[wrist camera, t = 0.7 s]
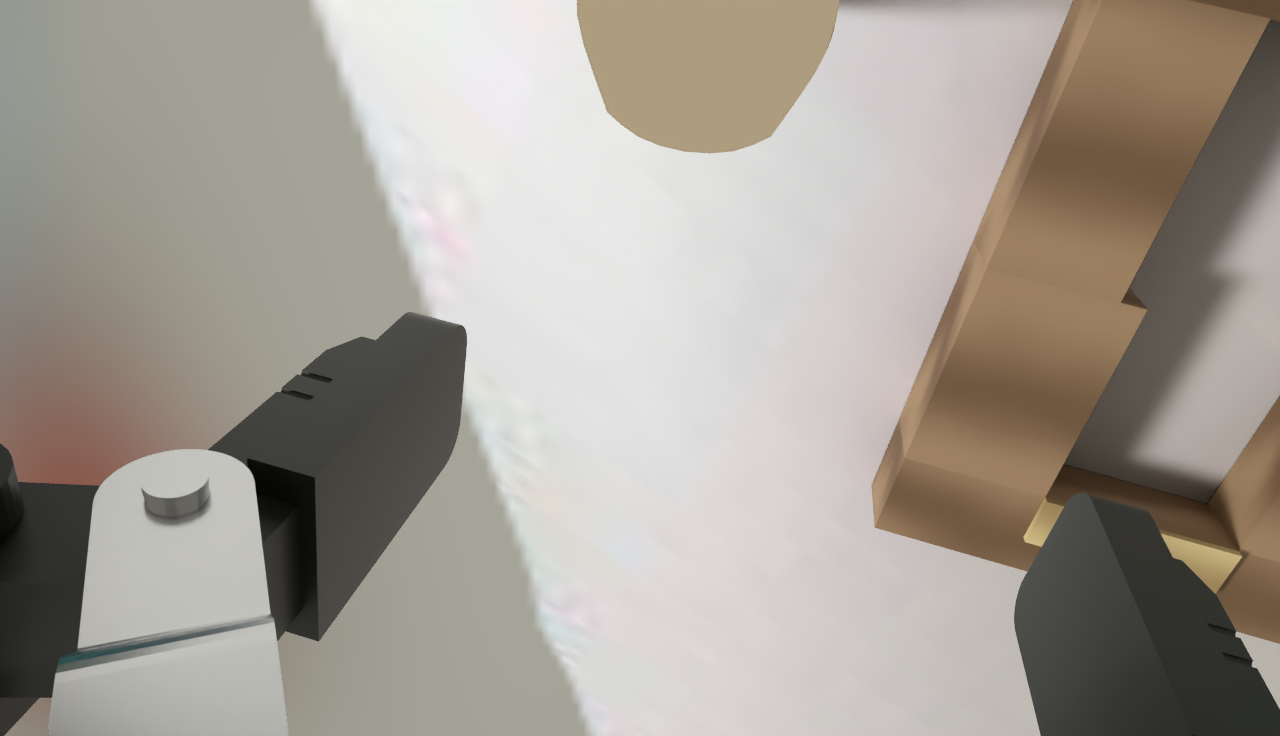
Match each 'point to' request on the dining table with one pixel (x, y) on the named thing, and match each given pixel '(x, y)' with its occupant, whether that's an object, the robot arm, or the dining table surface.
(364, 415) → the robot arm
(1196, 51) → the square wooden frame
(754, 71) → the handle
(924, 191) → the dining table surface
